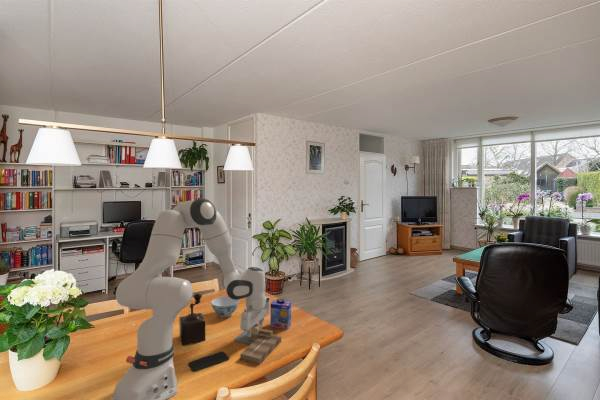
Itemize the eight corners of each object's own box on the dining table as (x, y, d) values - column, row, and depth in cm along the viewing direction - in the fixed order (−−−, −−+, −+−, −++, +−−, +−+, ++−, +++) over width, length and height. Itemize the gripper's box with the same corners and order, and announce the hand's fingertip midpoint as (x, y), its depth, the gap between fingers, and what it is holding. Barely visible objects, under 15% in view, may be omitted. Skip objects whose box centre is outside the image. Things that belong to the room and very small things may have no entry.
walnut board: (259, 364, 120) (259, 358, 120) (240, 359, 123) (240, 353, 123) (281, 341, 138) (281, 336, 138) (263, 337, 142) (264, 332, 142)
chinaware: (244, 314, 167) (244, 300, 167) (221, 323, 156) (221, 308, 156) (228, 307, 177) (228, 294, 177) (205, 314, 166) (205, 301, 166)
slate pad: (254, 345, 134) (254, 344, 134) (233, 340, 139) (233, 339, 139) (265, 335, 144) (265, 334, 144) (245, 331, 148) (245, 330, 148)
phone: (187, 362, 120) (223, 350, 129) (187, 364, 120) (223, 352, 129) (192, 371, 114) (230, 358, 123) (192, 373, 114) (230, 360, 123)
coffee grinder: (207, 340, 138) (207, 302, 138) (181, 346, 133) (181, 306, 132) (201, 326, 152) (201, 291, 151) (177, 331, 147) (177, 294, 146)
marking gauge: (269, 344, 135) (269, 331, 135) (248, 339, 139) (248, 326, 139) (273, 340, 139) (273, 327, 138) (252, 335, 143) (252, 323, 142)
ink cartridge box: (269, 327, 152) (270, 299, 152) (272, 322, 158) (273, 295, 157) (288, 329, 150) (289, 300, 150) (291, 324, 156) (291, 297, 155)
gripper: (249, 311, 128) (249, 343, 129) (271, 296, 147) (271, 323, 148) (237, 309, 131) (236, 340, 131) (260, 294, 150) (260, 321, 150)
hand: (255, 331), depth 140 cm, fingers open, 8 cm apart
